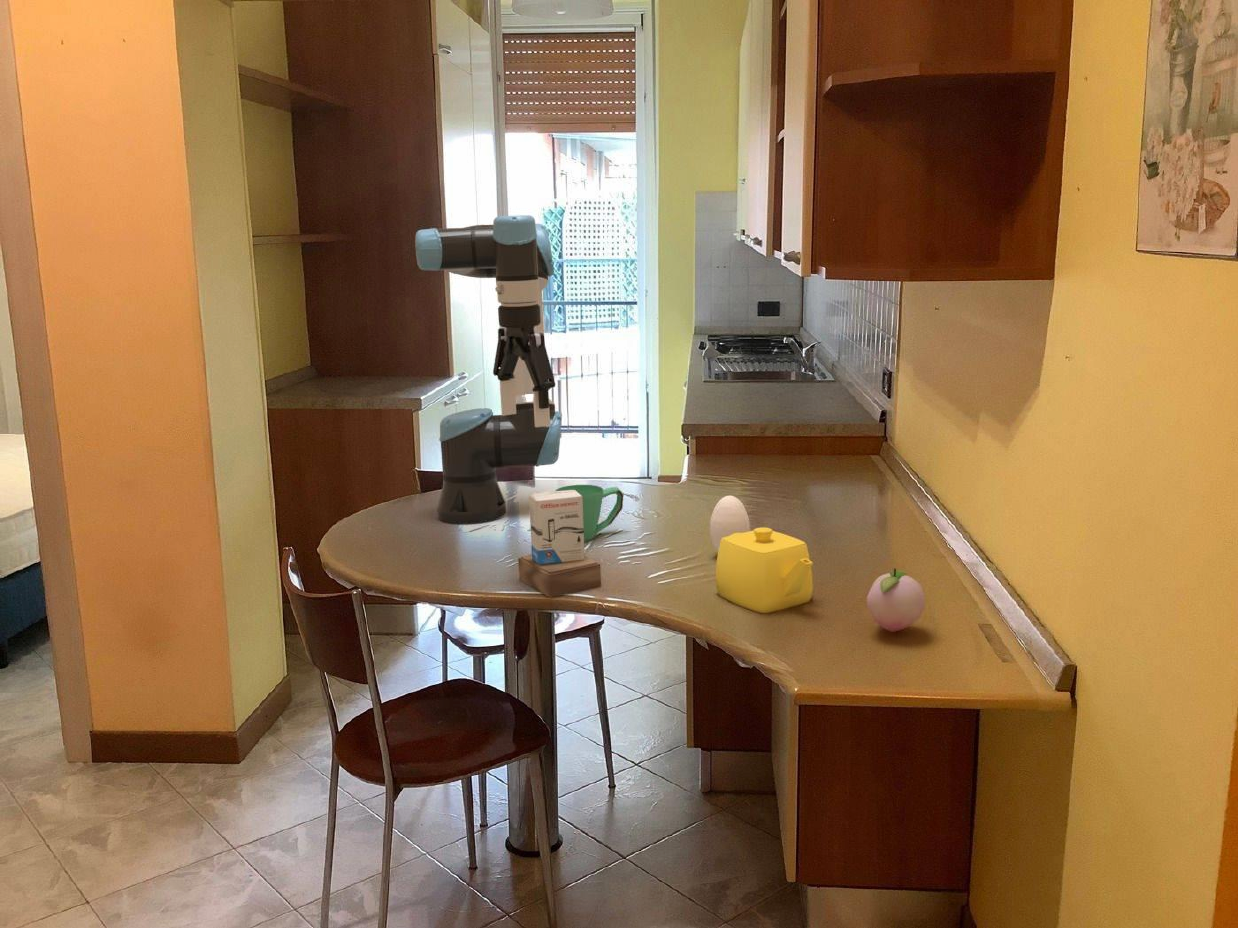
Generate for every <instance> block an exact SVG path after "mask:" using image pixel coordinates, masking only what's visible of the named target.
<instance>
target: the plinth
mask: <svg viewBox="0 0 1238 928" xmlns="http://www.w3.org/2000/svg"><path fill="white" fill-rule="evenodd" d="M517 562H518V576H519V580H520V581H521V582H522V583H525V584H527V586H530V587H531V588H533V589H535V590H536V591H538V592H540V593H542V594H543V595H545V596H547V597H549V598H550V599H551V598H555V597H559V596H565V595H569V594H573V593H577V592H581V591H582V592H583V591H586V590H590V589H595V588H598V587H602V576H601V575H602V573H601V572H602V571H601V563H599V562H598V561H596V560H593V559H592V558H589V557H587V556H585V555H584V560H578V561H570V562H562V563H554V564H546V565H539V564H537V563H536V562H535V561H534V560H533V559H532V553H531V554H528V555H522V556H520V557H518V558H517Z"/></svg>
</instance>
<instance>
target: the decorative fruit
mask: <svg viewBox="0 0 1238 928" xmlns="http://www.w3.org/2000/svg"><path fill="white" fill-rule="evenodd" d="M866 606H867V608H868V611H869V613H870V615H871V617H872V620H874V622H875V623H877V625H878V626H880V627H881V628H882V629H885V630H887V631H888V632H891V633H896V632H897V631H901V630H905V629H907V628H908V627H910V626H912V624H914V623H916V622H917V621H918V620H919V619H920V618H921V616H922V615H923V613H924V611H925V607H926V596H925V592H924V589H923V588H922V586H921V584H920V582H918V581H917V580H916V579H915V578H913V577H911V576H909V575H908V574H907V572H906V571H904V570H897V568H896V567H894V568H893V570H892V571H890V572H889V573H885V574H882V575H880V576H878V577H877V578H876V579H875V580H874V582H873V584H872V585H871V587H870V590H869V592H868V594H867V596H866Z"/></svg>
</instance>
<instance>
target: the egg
mask: <svg viewBox="0 0 1238 928" xmlns="http://www.w3.org/2000/svg"><path fill="white" fill-rule="evenodd" d="M709 523H710V524H709V534H710V540H711V542H712V544H713V546H714V548H715V549H716V550H717V552H718V551H719V546H720V542H721V539H722V538H723V537H727V536H730V535H732V534H734V533H744V532H749V531H751V527H750V524H751V523H750V518H749V516H748V513H747V510H746V508H745V506H744V504H743V503H742V501H741V500H740V499H739V498H737V497H735V496H734V495H726V496H723V497H721V498H720V499H719V501H718V502H717V503H716V505H715V507H714V509H713V510H712V513H711V518H710V522H709Z"/></svg>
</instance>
